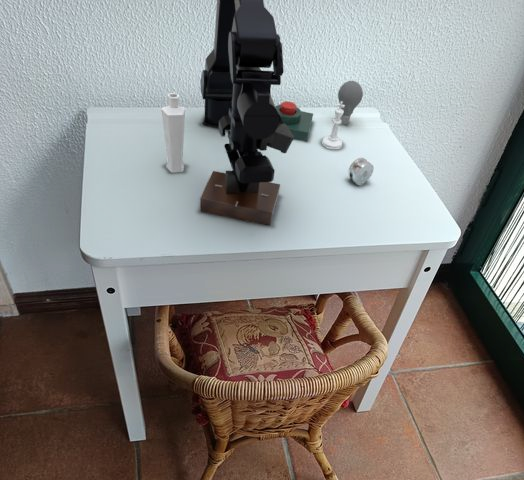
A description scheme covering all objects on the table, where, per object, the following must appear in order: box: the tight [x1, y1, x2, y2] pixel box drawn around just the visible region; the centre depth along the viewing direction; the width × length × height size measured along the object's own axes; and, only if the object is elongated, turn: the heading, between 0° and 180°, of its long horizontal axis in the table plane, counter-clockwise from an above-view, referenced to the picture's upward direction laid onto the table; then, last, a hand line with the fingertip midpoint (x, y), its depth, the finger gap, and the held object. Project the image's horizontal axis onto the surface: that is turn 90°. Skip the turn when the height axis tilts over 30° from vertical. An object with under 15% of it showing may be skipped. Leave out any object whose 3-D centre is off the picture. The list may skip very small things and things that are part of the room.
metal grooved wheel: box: [347, 157, 374, 186], centre depth 106 cm, size 5×3×5 cm, turn 123°
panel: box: [199, 170, 281, 226], centre depth 97 cm, size 14×11×3 cm
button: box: [280, 101, 297, 115], centre depth 117 cm, size 4×4×2 cm
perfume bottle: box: [161, 92, 186, 174], centre depth 98 cm, size 5×4×15 cm
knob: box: [225, 170, 260, 194], centre depth 94 cm, size 6×2×4 cm, turn 105°
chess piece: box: [321, 102, 345, 150], centre depth 113 cm, size 5×5×10 cm
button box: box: [275, 103, 314, 142], centre depth 119 cm, size 12×10×4 cm
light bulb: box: [337, 80, 364, 125], centre depth 121 cm, size 6×6×10 cm
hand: (241, 188), depth 95 cm, fingers closed on knob, 2 cm apart
